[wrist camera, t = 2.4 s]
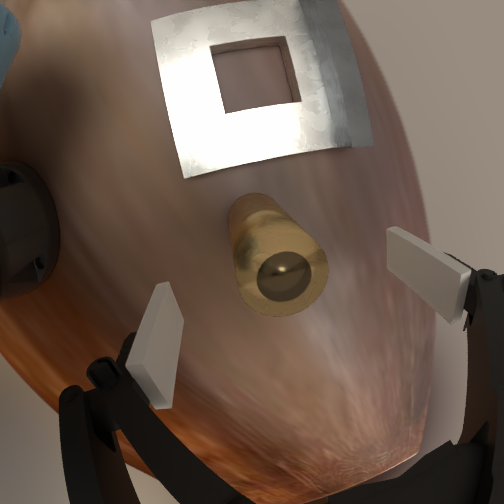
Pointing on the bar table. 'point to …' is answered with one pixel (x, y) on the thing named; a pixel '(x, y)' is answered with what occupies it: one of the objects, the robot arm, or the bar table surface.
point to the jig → (271, 117)
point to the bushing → (274, 258)
